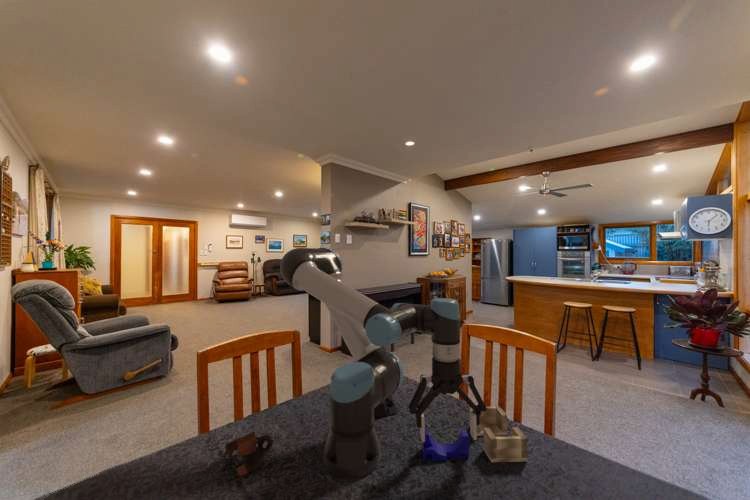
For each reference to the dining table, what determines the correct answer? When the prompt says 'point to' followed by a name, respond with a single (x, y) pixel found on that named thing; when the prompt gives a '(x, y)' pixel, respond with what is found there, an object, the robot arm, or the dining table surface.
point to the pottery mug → (249, 451)
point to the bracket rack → (501, 447)
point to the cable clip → (446, 448)
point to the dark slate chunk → (385, 408)
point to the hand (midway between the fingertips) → (448, 438)
